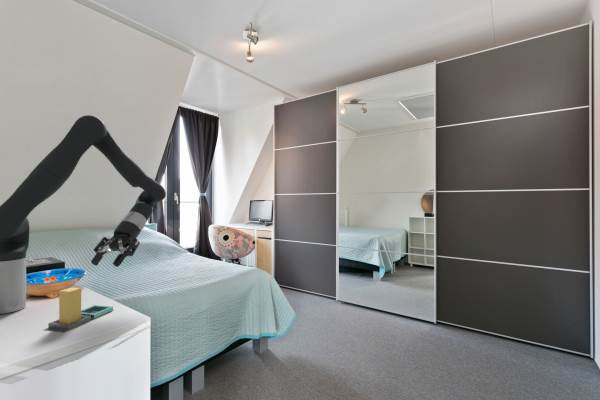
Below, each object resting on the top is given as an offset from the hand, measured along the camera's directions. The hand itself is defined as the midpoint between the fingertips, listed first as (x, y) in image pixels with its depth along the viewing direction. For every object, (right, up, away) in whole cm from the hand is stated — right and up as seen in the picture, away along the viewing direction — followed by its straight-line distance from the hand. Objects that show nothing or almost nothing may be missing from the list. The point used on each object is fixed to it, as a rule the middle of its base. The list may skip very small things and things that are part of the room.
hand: (104, 264), depth 98 cm
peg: (-3, -15, -11) cm, 19 cm away
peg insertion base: (-2, -16, -8) cm, 18 cm away
